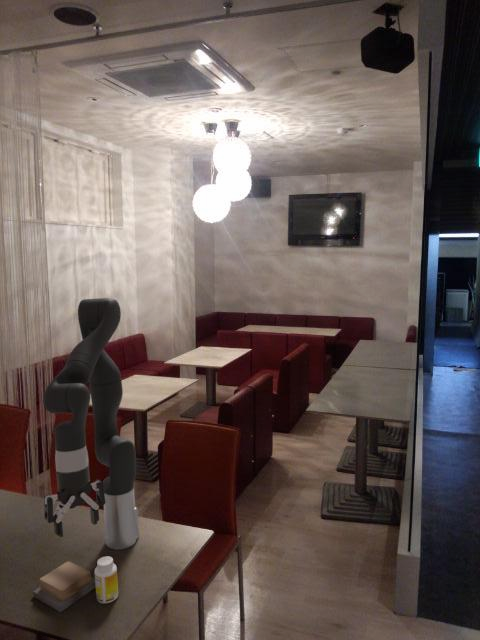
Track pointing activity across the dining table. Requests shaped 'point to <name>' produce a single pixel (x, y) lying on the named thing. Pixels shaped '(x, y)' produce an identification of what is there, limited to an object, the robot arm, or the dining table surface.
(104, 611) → the dining table surface
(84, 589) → the pedestal
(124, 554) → the dining table surface
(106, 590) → the supplement bottle
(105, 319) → the robot arm
